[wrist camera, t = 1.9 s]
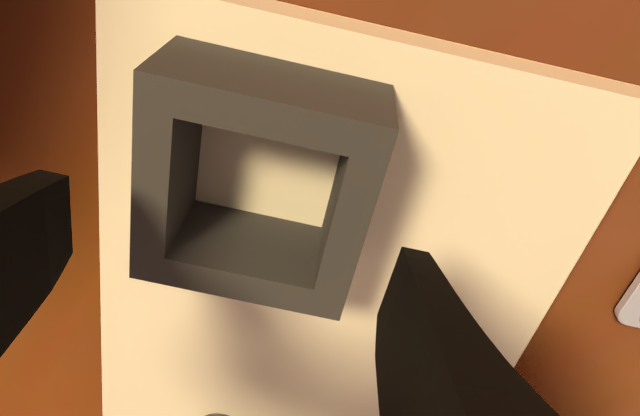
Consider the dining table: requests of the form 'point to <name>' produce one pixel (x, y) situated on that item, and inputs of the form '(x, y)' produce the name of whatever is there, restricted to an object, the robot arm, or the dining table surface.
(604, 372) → the dining table surface
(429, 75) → the shelf board
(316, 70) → the grey square frame
